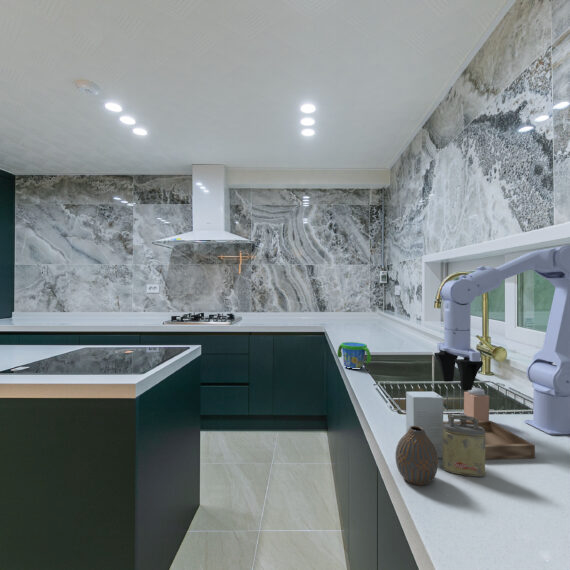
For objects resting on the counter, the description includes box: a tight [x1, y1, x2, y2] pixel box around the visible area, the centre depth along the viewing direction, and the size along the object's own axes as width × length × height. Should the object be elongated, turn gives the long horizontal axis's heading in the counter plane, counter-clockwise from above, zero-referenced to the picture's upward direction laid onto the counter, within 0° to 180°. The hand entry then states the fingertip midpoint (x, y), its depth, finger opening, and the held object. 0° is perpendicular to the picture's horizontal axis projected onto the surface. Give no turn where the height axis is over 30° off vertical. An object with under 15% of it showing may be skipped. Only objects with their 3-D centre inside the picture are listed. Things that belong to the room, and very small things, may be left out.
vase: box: [395, 426, 439, 486], centre depth 61 cm, size 7×7×9 cm
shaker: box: [463, 386, 490, 421], centre depth 88 cm, size 4×4×8 cm
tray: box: [443, 420, 536, 460], centre depth 75 cm, size 13×13×2 cm
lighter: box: [441, 413, 486, 478], centre depth 63 cm, size 7×4×10 cm, turn 74°
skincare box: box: [405, 391, 444, 459], centre depth 70 cm, size 6×4×12 cm
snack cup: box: [337, 341, 372, 368], centre depth 146 cm, size 16×10×10 cm
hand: (457, 385), depth 84 cm, fingers open, 7 cm apart
